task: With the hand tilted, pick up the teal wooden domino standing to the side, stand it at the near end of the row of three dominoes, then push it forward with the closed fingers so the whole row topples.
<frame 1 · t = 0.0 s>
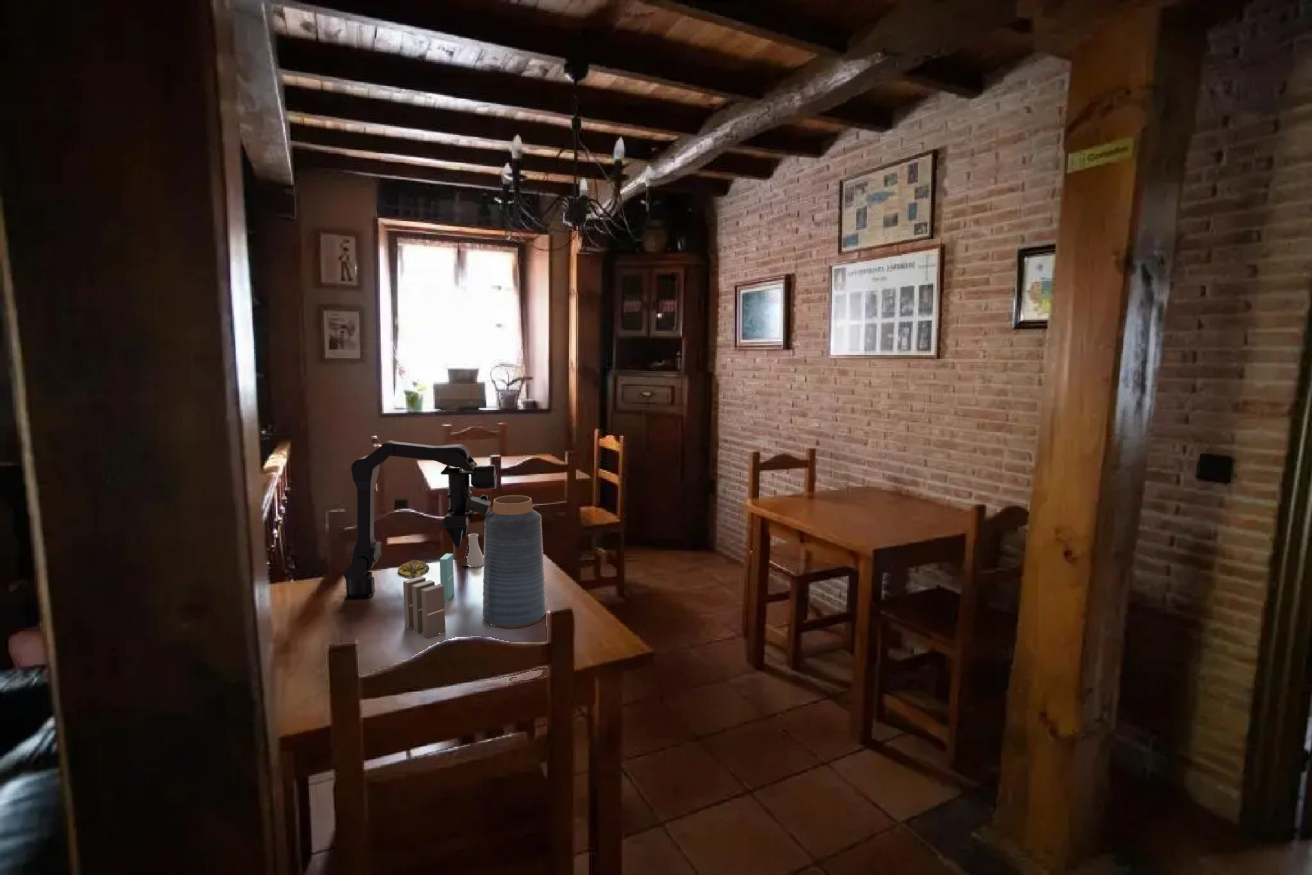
hand: (460, 542, 187), 15 cm above the table, tool pointing down, fingers open, 9 cm apart
vase: (514, 616, 173), on the table
domino 3: (425, 629, 164), on the table
seal: (413, 572, 207), on the table
teal domino: (447, 597, 185), on the table
flask: (474, 565, 213), on the table
domino 4: (434, 634, 161), on the table
domino 2: (416, 624, 167), on the table
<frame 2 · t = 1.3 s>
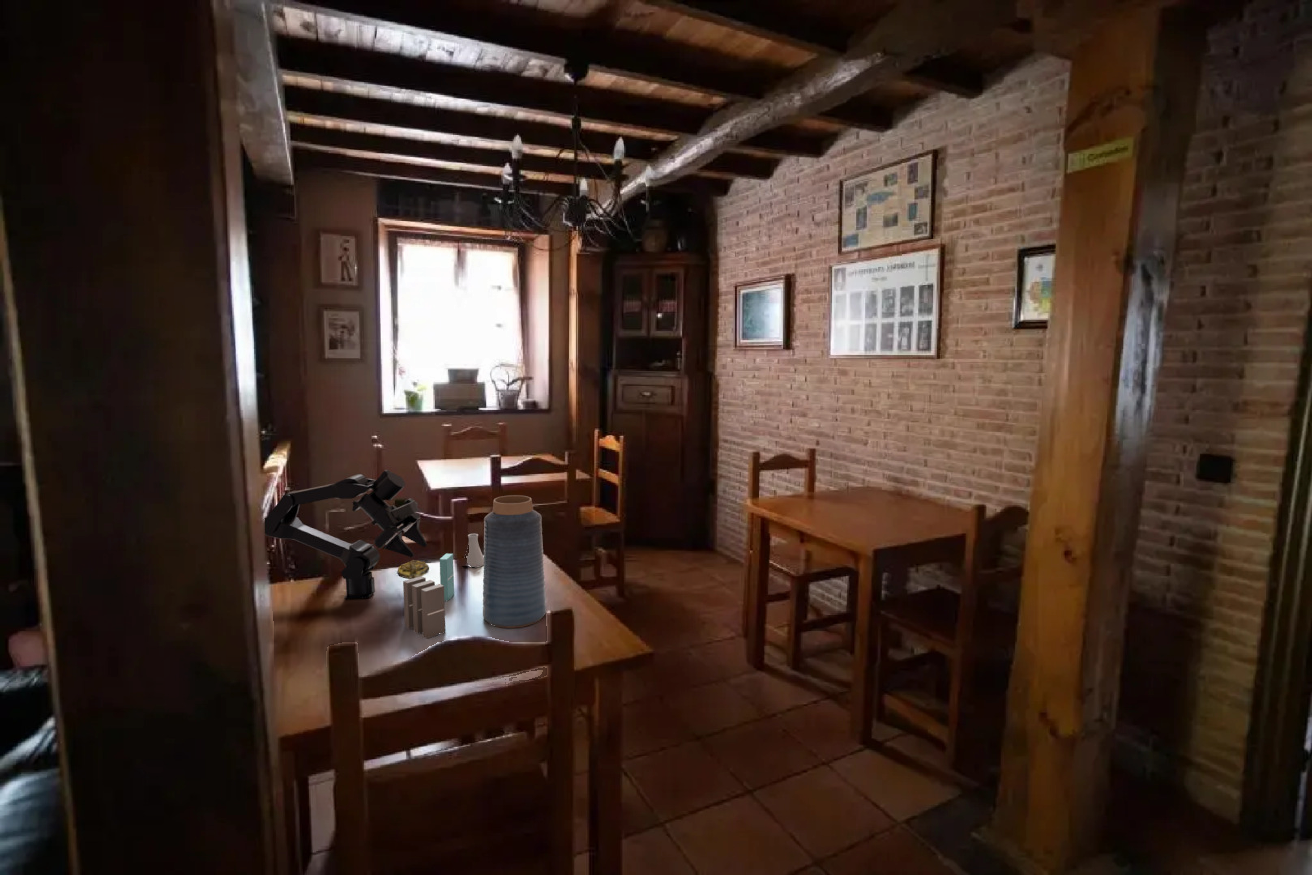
hand: (419, 550, 183), 13 cm above the table, tool tilted 45°, fingers open, 9 cm apart
nothing on the table moved.
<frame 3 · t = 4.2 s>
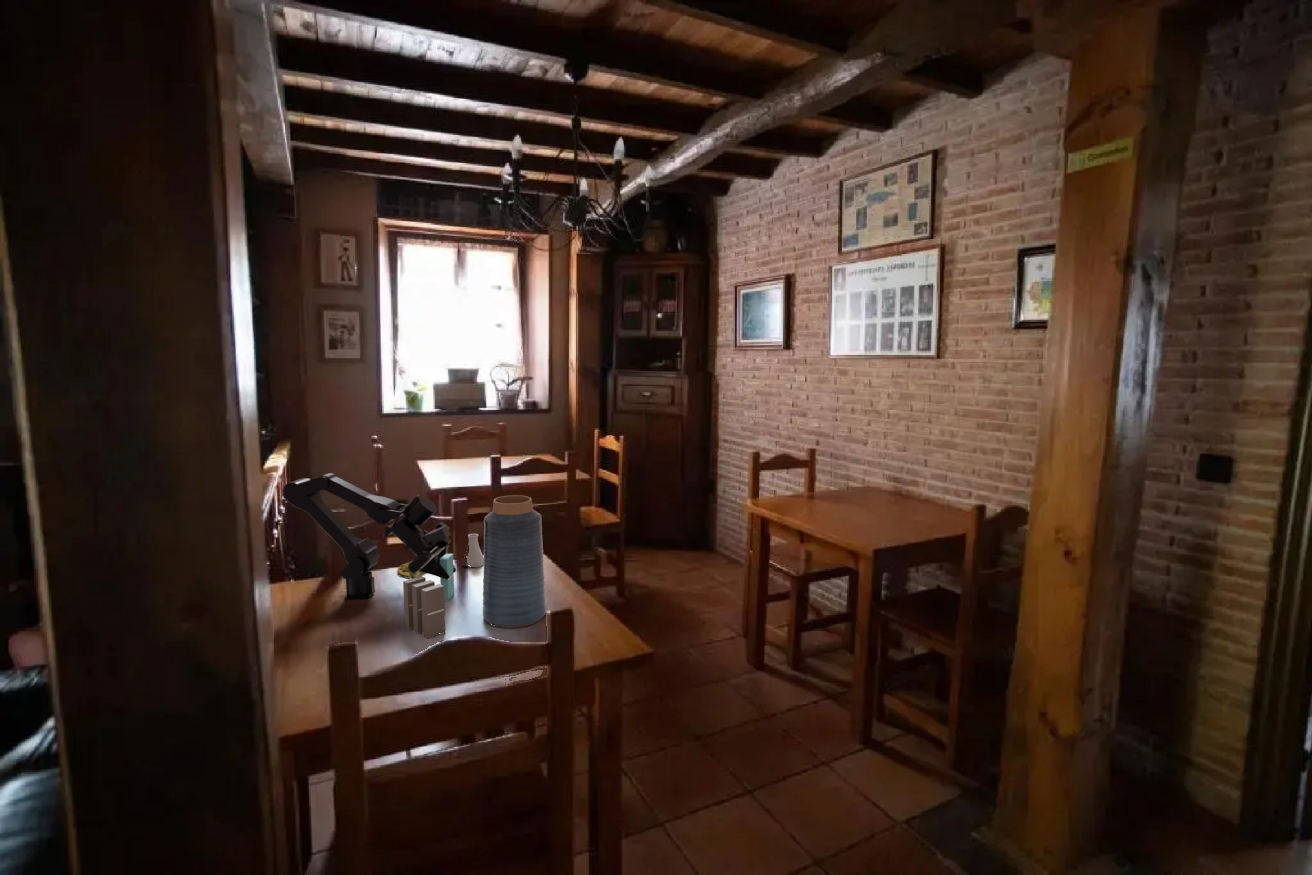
hand: (452, 574, 184), 7 cm above the table, tool tilted 45°, fingers closed on teal domino, 5 cm apart
teal domino: (447, 597, 185), on the table, touching gripper
everything else where it was.
when the fingers open (8 cm above the table, at t = 9.4 s): teal domino stays where it is, on the table.
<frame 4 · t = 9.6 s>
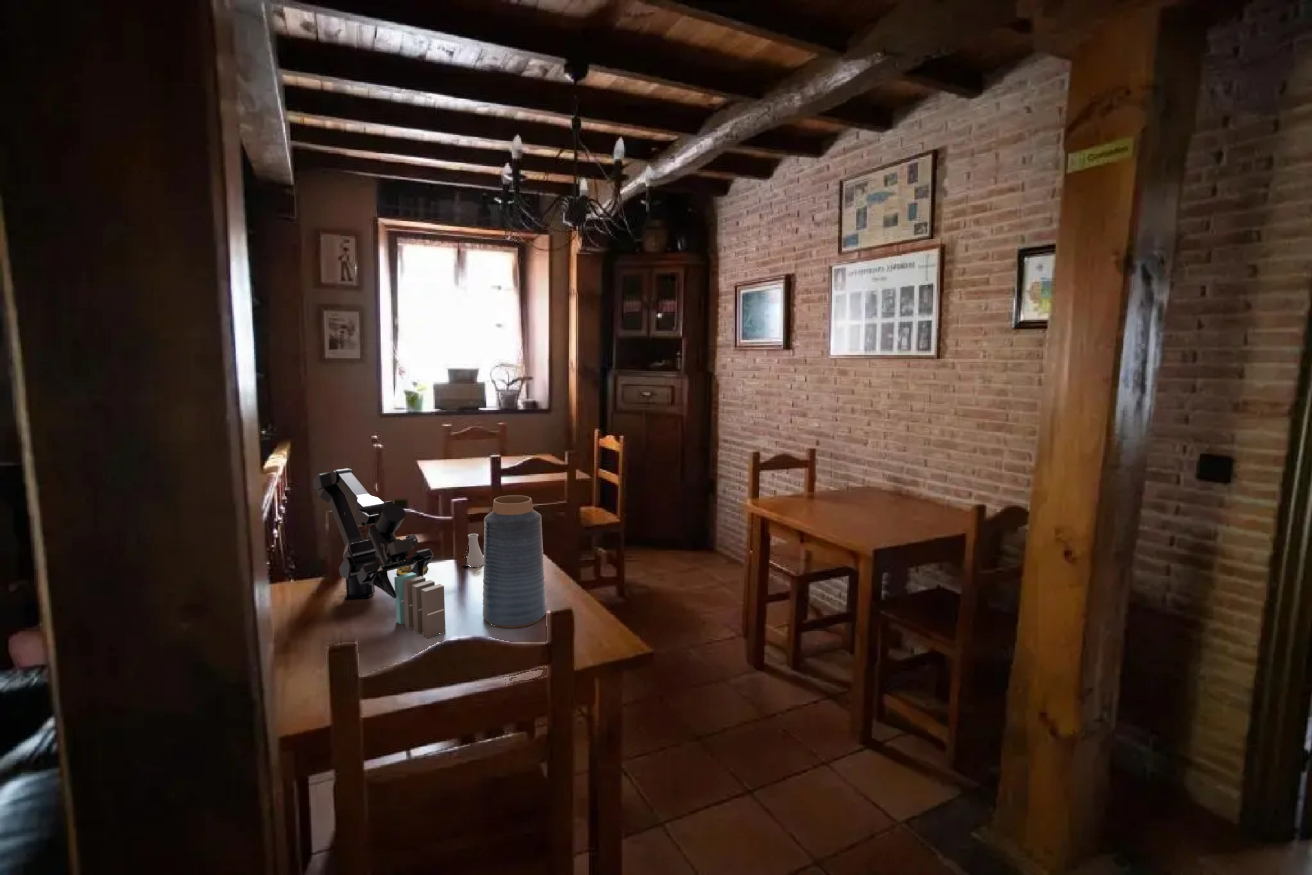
hand: (409, 593, 167), 8 cm above the table, tool tilted 45°, fingers open, 7 cm apart
teal domino: (407, 620, 169), on the table
everything else where it was.
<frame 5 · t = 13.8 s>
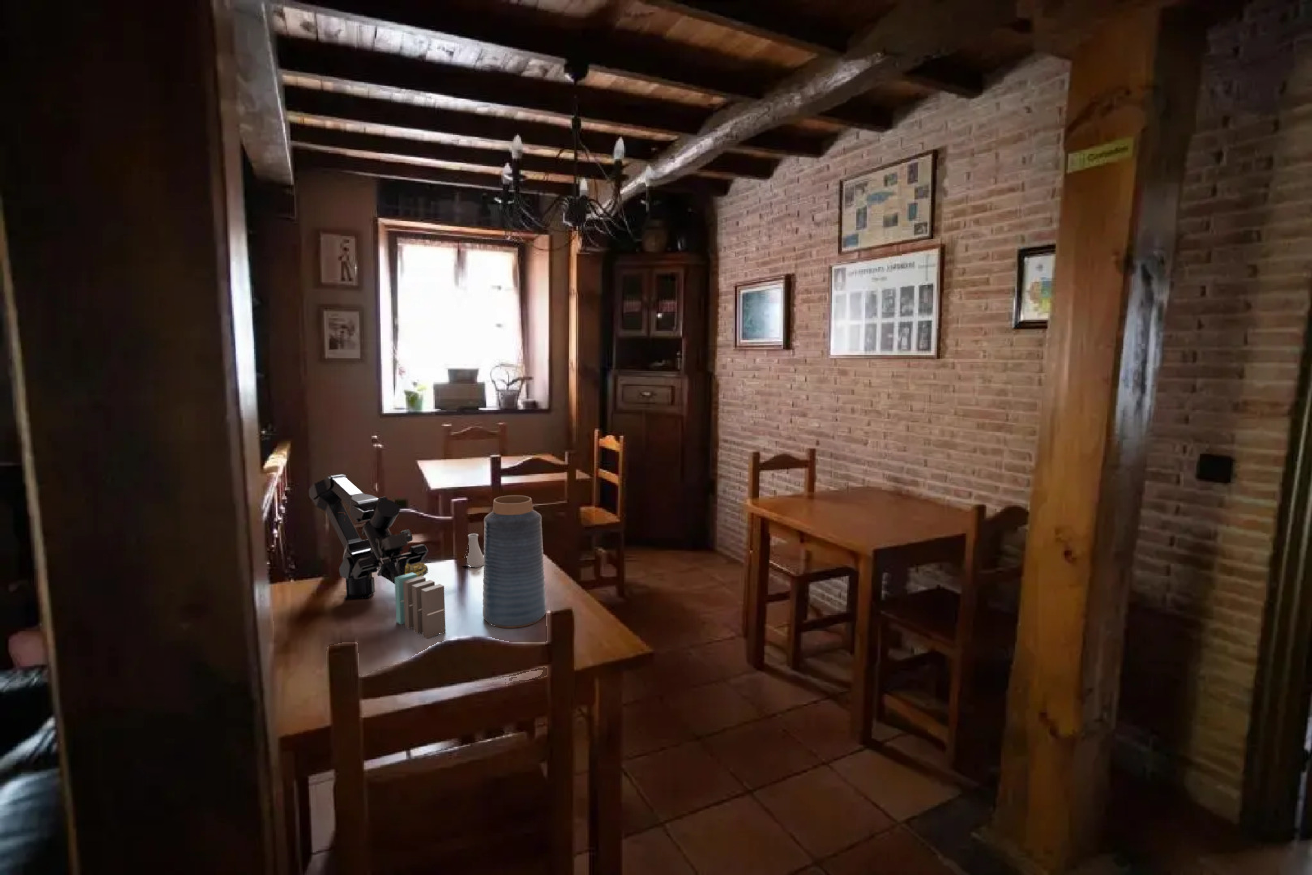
hand: (403, 588, 169), 8 cm above the table, tool tilted 45°, fingers closed, pressing on teal domino
teal domino: (407, 620, 169), on the table, touching gripper
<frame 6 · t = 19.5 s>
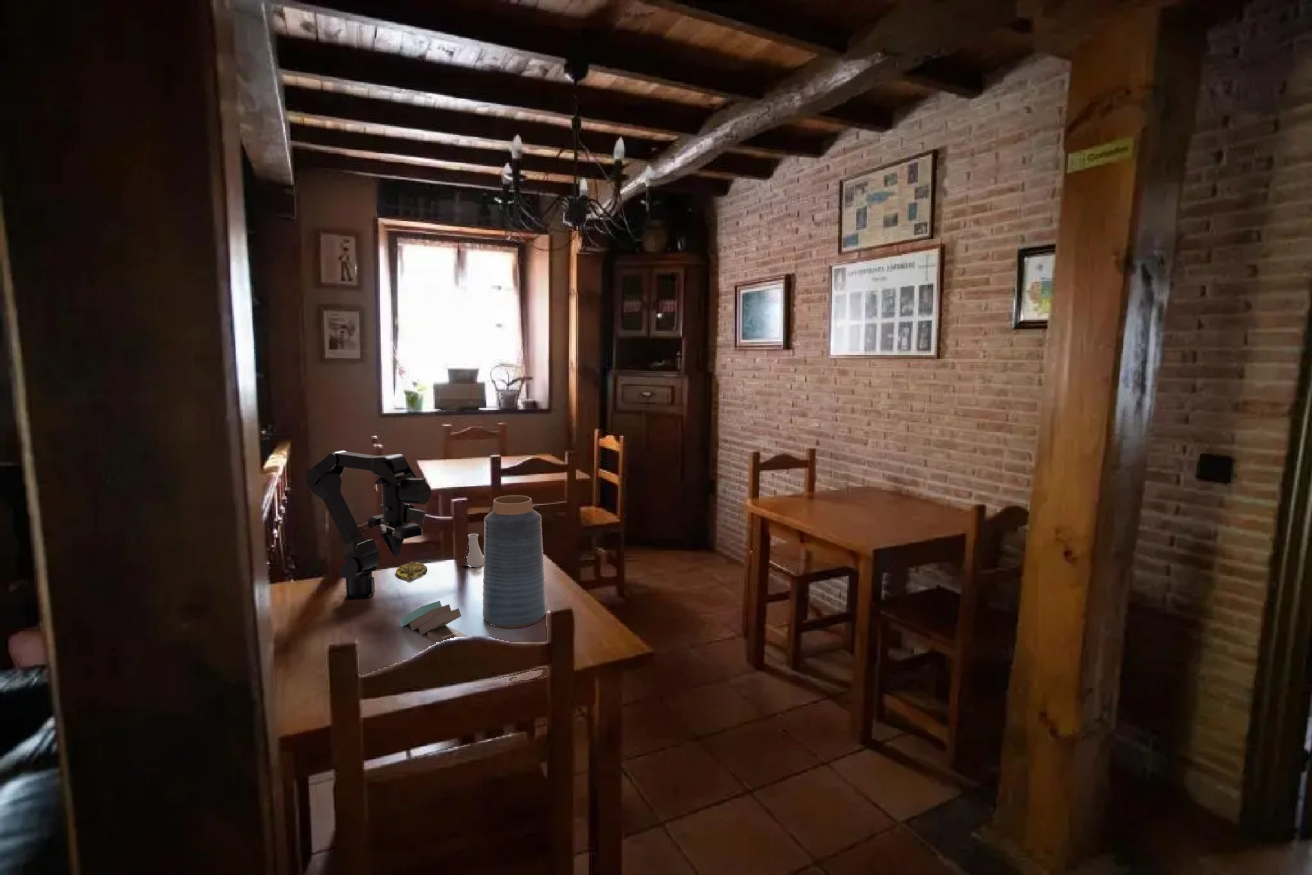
hand: (396, 556, 180), 13 cm above the table, tool pointing down, fingers closed
domino 3: (428, 627, 163), point 1 cm above the table, tilted 59°, touching domino 2, domino 4
teal domino: (411, 619, 168), point 1 cm above the table, tilted 59°, touching domino 2
domino 4: (436, 632, 160), point 1 cm above the table, tilted 89°, touching domino 3
domino 2: (419, 623, 165), point 1 cm above the table, tilted 59°, touching domino 3, teal domino
at the end: domino 4 tilted 89°; teal domino tilted 59°; teal domino 4.2 cm from the domino 2 (horizontally) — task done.
